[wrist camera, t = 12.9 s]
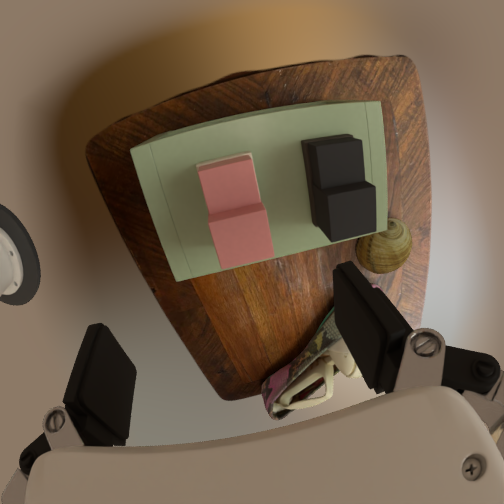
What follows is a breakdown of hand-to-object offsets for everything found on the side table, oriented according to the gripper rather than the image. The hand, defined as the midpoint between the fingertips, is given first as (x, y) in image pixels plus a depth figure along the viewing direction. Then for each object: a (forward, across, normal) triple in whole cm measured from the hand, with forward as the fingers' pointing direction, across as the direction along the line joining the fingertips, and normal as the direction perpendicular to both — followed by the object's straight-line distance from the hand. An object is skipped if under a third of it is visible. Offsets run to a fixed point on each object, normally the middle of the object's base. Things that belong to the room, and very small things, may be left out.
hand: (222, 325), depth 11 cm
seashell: (+25, -21, +15) cm, 36 cm away
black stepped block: (+13, -10, 0) cm, 16 cm away
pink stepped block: (+13, -2, 0) cm, 13 cm away
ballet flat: (+25, -10, +32) cm, 42 cm away
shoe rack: (+25, -5, 0) cm, 25 cm away
